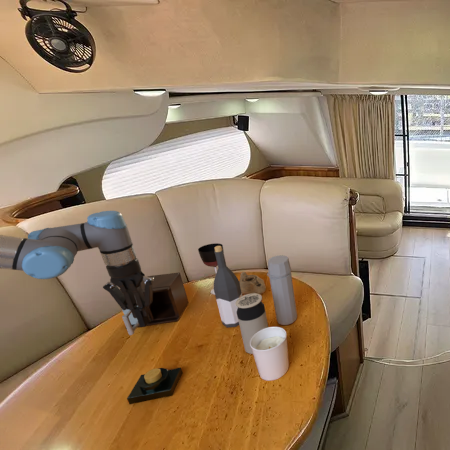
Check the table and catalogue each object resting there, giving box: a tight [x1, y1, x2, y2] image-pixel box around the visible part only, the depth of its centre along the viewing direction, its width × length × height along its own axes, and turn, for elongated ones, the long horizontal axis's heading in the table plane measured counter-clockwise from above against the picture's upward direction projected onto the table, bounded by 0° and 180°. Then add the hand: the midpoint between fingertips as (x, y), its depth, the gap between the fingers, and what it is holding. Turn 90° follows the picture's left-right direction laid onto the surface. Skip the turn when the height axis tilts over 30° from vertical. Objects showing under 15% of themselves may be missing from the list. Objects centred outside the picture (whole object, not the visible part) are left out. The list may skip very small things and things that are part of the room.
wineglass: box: [197, 242, 225, 296], centre depth 130 cm, size 8×9×20 cm
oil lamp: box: [239, 271, 267, 295], centre depth 130 cm, size 11×15×8 cm
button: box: [144, 367, 162, 384], centre depth 86 cm, size 4×4×2 cm
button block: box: [126, 367, 184, 405], centre depth 87 cm, size 10×8×4 cm
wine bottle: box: [213, 246, 243, 328], centre depth 109 cm, size 8×8×30 cm
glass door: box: [121, 301, 151, 336], centre depth 105 cm, size 7×10×12 cm, turn 16°
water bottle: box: [266, 254, 298, 326], centre depth 111 cm, size 9×8×25 cm
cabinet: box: [119, 272, 190, 330], centre depth 115 cm, size 16×12×14 cm
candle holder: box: [250, 326, 290, 382], centre depth 91 cm, size 10×10×12 cm
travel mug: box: [236, 293, 269, 355], centre depth 99 cm, size 8×8×18 cm
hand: (144, 324), depth 103 cm, fingers closed
